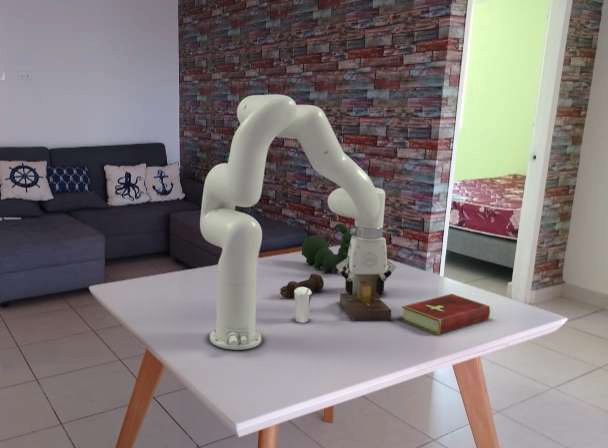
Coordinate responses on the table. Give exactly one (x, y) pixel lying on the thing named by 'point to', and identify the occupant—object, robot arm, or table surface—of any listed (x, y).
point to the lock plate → (365, 308)
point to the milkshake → (302, 304)
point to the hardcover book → (445, 313)
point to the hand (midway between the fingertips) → (364, 293)
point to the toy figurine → (326, 251)
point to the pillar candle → (369, 279)
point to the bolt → (303, 285)
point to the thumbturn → (364, 292)
